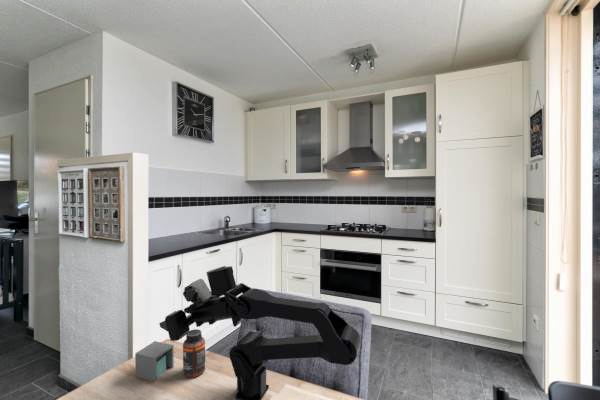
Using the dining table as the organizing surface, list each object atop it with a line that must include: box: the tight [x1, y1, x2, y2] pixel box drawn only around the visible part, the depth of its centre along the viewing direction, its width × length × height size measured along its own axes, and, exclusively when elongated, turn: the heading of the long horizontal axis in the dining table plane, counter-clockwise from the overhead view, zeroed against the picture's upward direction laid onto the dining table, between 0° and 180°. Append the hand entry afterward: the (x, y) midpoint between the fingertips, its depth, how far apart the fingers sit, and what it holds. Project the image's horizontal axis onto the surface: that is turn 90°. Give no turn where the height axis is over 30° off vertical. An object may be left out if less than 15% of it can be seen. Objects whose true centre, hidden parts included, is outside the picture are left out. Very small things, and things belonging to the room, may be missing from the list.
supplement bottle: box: [182, 328, 206, 378], centre depth 82 cm, size 6×6×11 cm
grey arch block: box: [134, 340, 175, 383], centre depth 82 cm, size 7×7×6 cm
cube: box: [157, 355, 167, 377], centre depth 82 cm, size 4×4×4 cm
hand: (173, 317), depth 81 cm, fingers open, 9 cm apart
